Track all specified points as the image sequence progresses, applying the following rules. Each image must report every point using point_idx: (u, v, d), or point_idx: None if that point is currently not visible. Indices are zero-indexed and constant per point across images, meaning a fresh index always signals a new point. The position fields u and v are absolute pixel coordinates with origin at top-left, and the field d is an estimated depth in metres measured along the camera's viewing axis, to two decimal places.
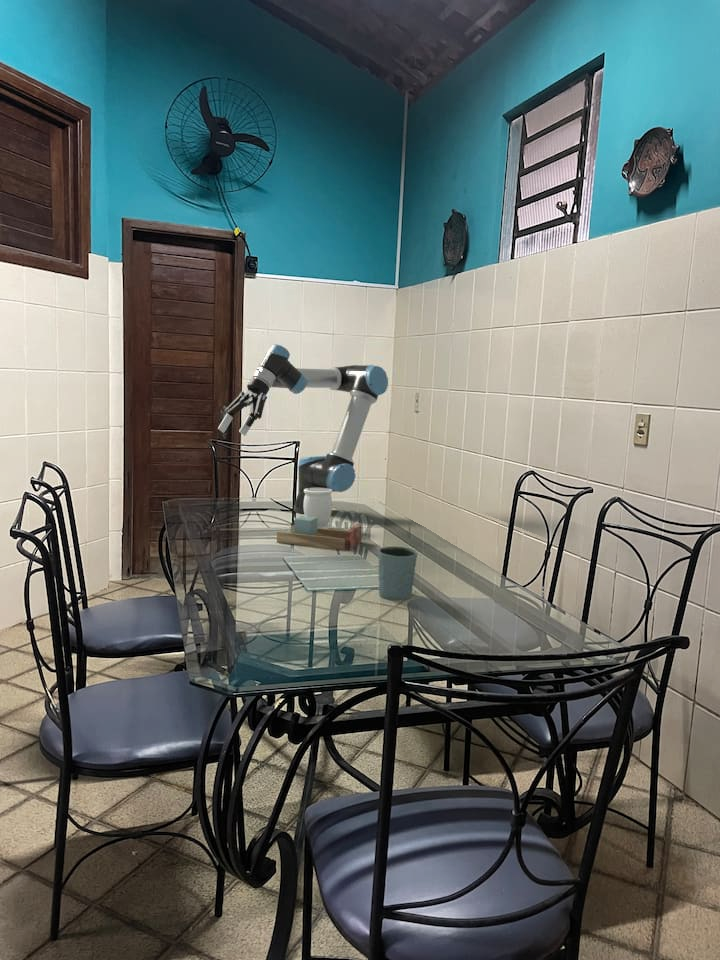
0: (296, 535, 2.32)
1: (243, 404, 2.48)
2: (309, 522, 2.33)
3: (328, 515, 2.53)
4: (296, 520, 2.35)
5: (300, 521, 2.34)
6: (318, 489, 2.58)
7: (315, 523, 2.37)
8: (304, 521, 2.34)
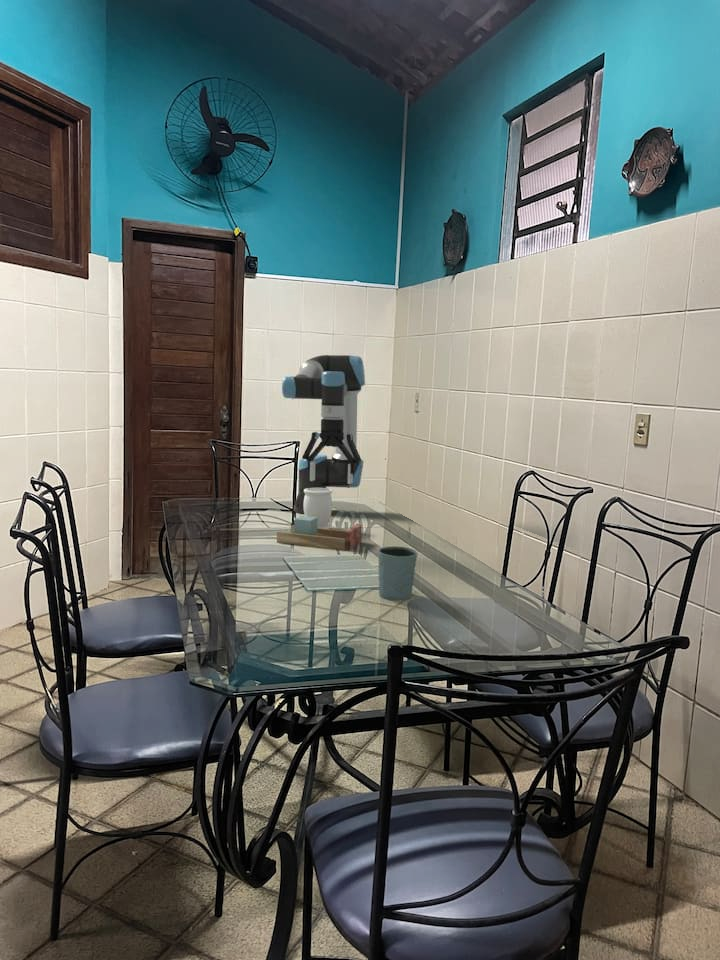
0: (296, 535, 2.32)
1: (323, 446, 2.31)
2: (309, 522, 2.33)
3: (328, 515, 2.53)
4: (296, 520, 2.35)
5: (300, 521, 2.34)
6: (318, 489, 2.58)
7: (315, 523, 2.37)
8: (304, 521, 2.34)
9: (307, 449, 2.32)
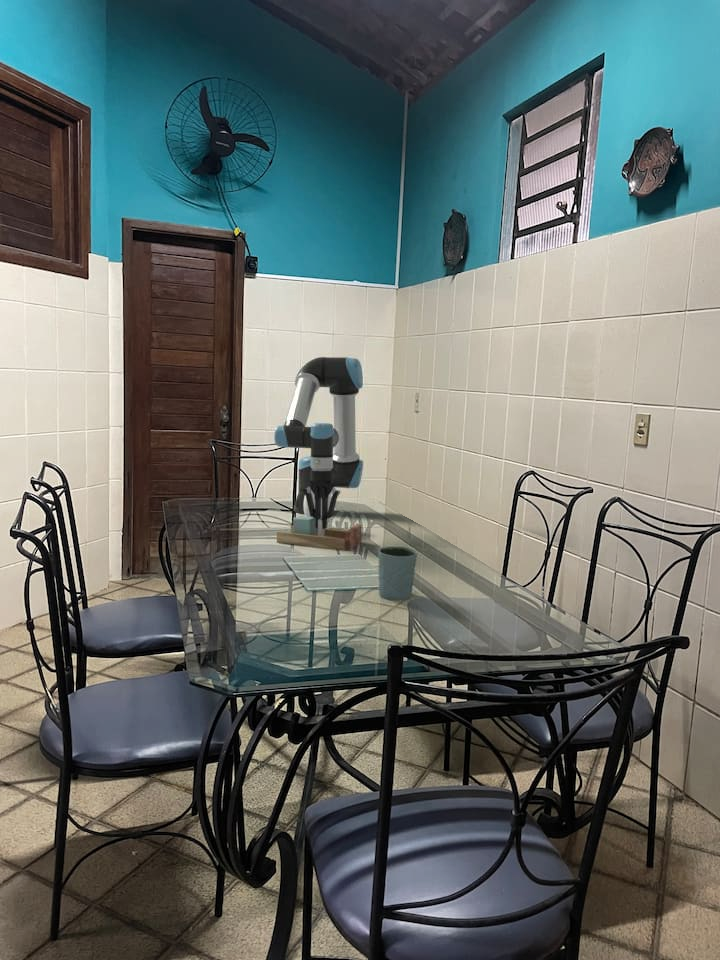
0: (296, 535, 2.32)
1: (319, 498, 2.34)
2: (308, 521, 2.33)
3: None
4: (295, 520, 2.35)
5: (299, 521, 2.34)
6: None
7: (314, 522, 2.37)
8: (303, 520, 2.34)
9: (309, 506, 2.35)
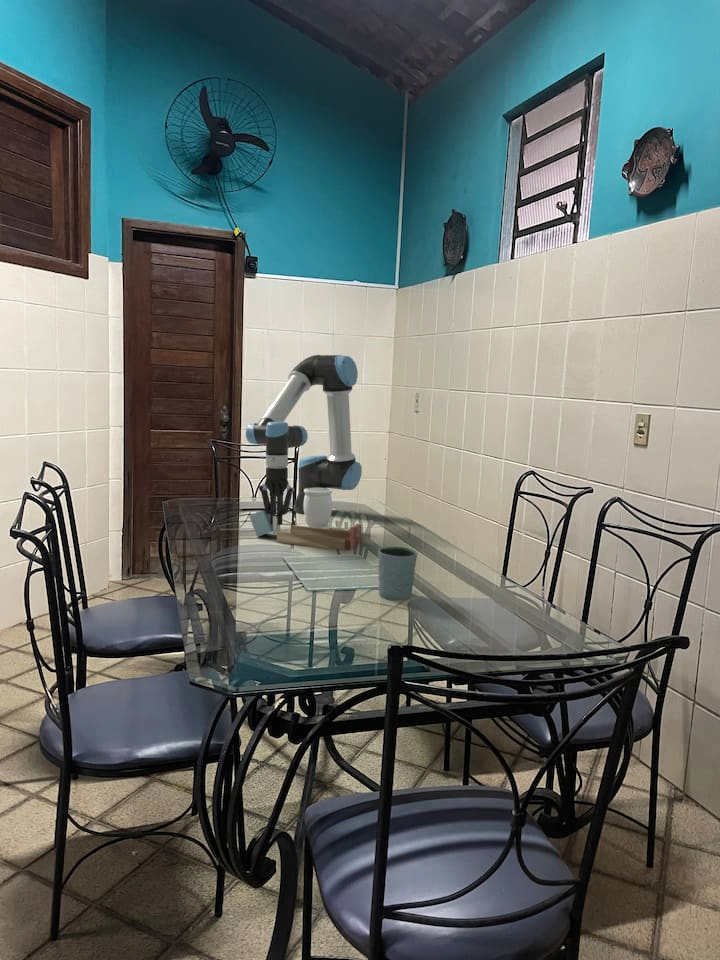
0: (296, 535, 2.32)
1: (275, 494, 2.40)
2: (262, 512, 2.39)
3: (328, 515, 2.53)
4: (251, 516, 2.41)
5: (254, 515, 2.41)
6: (318, 489, 2.58)
7: None
8: (258, 513, 2.40)
9: (264, 503, 2.40)
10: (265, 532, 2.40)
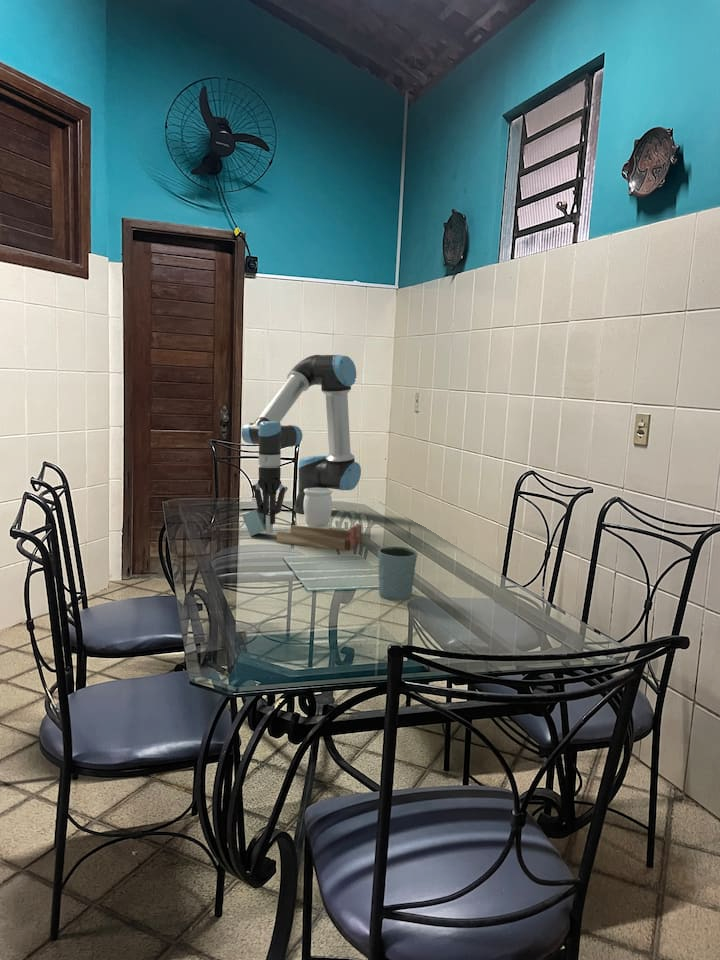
0: (296, 535, 2.32)
1: (267, 494, 2.40)
2: (255, 511, 2.40)
3: (328, 515, 2.53)
4: (243, 515, 2.42)
5: (247, 514, 2.41)
6: (318, 489, 2.58)
7: None
8: (250, 513, 2.41)
9: (257, 502, 2.41)
10: (258, 531, 2.41)
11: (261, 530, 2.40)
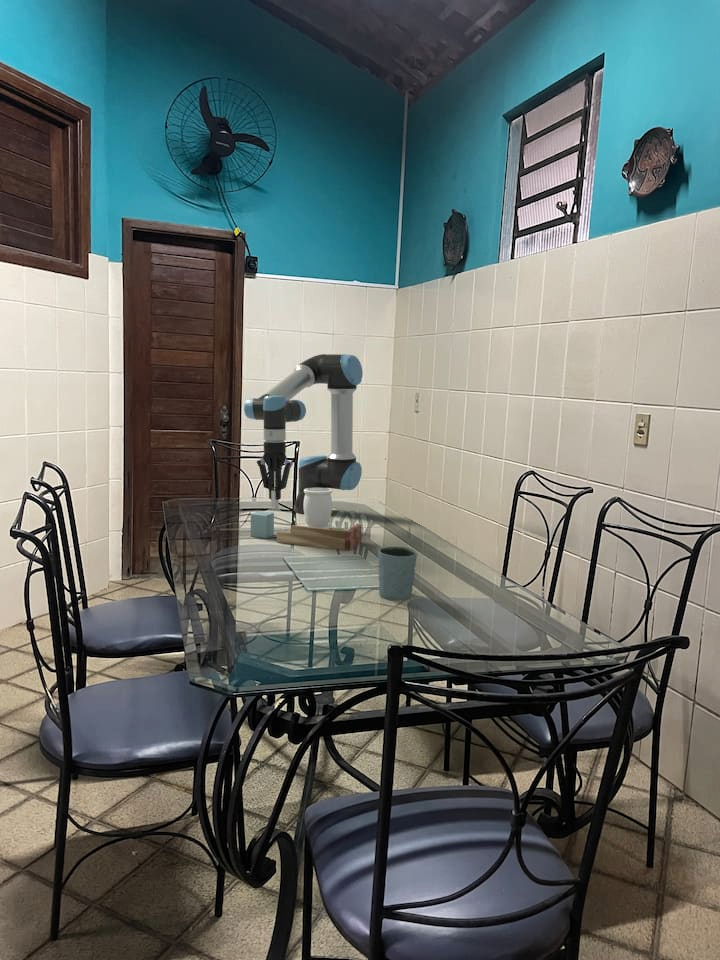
0: (296, 535, 2.32)
1: (273, 469, 2.39)
2: (264, 517, 2.39)
3: (328, 515, 2.53)
4: (252, 515, 2.41)
5: (256, 516, 2.40)
6: (318, 489, 2.58)
7: (271, 518, 2.43)
8: (260, 516, 2.40)
9: (263, 477, 2.39)
10: (260, 536, 2.41)
11: (263, 536, 2.41)
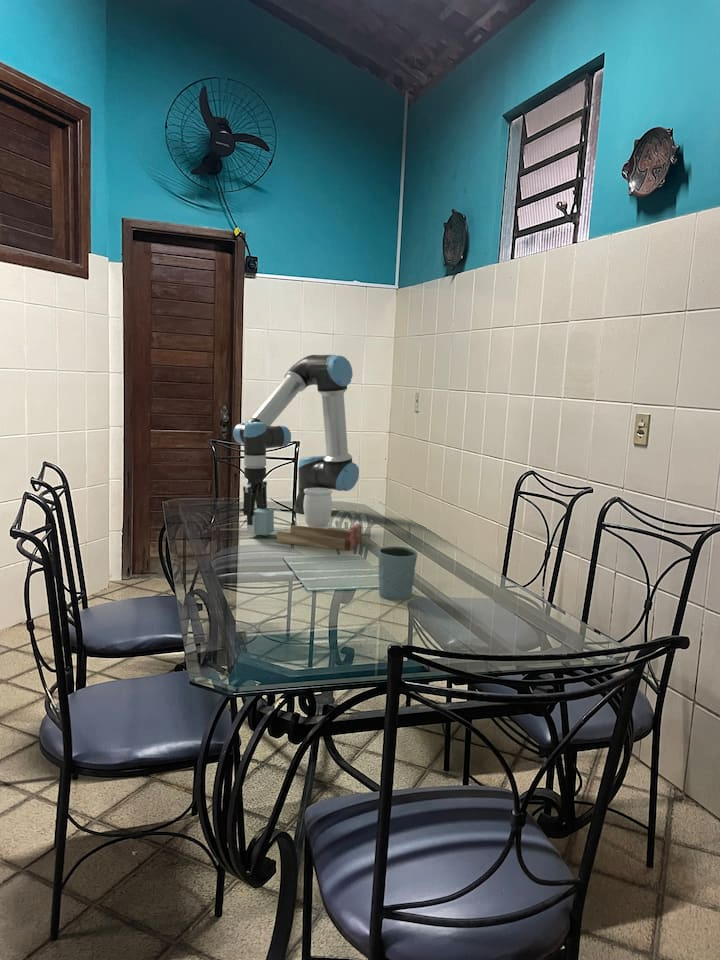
0: (296, 535, 2.32)
1: (258, 493, 2.44)
2: (265, 514, 2.39)
3: (328, 515, 2.53)
4: None
5: (256, 513, 2.40)
6: (318, 489, 2.58)
7: (271, 515, 2.43)
8: (260, 513, 2.39)
9: None
10: (260, 533, 2.40)
11: (263, 533, 2.40)
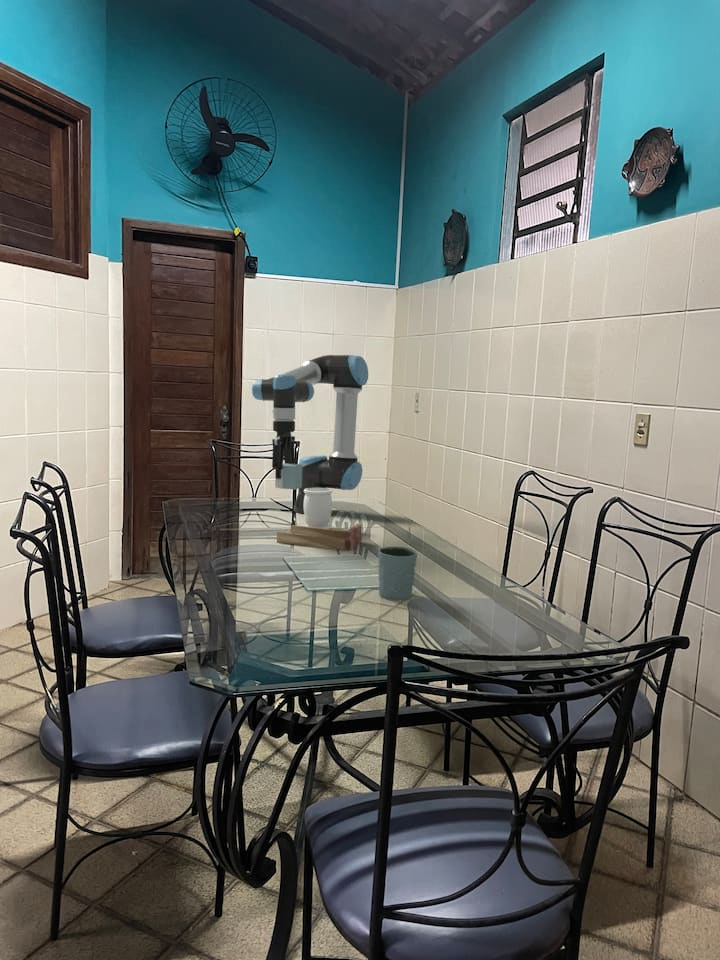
0: (296, 535, 2.32)
1: (286, 448, 2.41)
2: (294, 468, 2.36)
3: (328, 515, 2.53)
4: None
5: (285, 467, 2.37)
6: (318, 489, 2.58)
7: (299, 470, 2.40)
8: (289, 467, 2.36)
9: None
10: (289, 487, 2.37)
11: (292, 488, 2.37)
